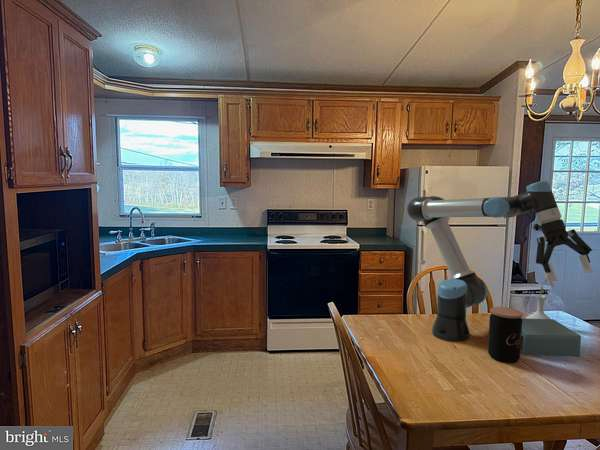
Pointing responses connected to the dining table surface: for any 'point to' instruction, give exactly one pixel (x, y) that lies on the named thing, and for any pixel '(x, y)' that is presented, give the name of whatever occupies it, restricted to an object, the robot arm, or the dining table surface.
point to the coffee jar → (505, 334)
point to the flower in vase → (540, 303)
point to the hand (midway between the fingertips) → (571, 276)
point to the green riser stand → (549, 338)
